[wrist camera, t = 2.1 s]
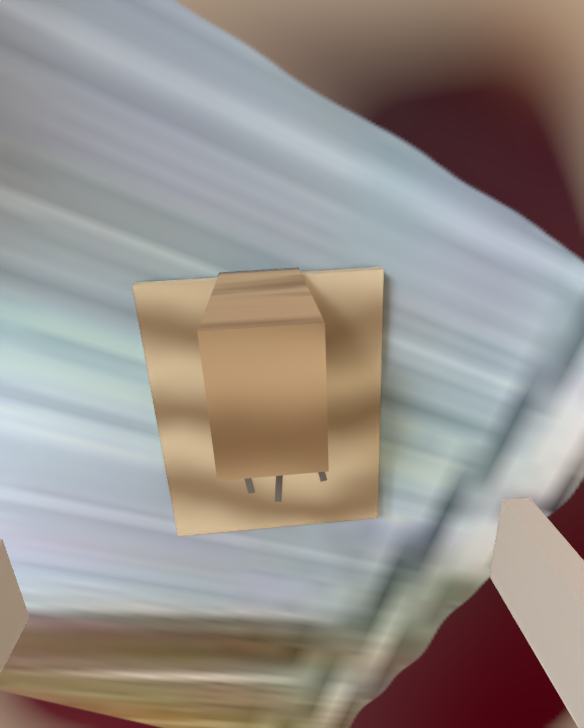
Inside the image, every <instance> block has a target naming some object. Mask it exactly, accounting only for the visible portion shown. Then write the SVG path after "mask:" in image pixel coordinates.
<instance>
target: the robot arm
mask: <svg viewBox="0 0 584 728" xmlns="http://www.w3.org/2000/svg"><path fill="white" fill-rule="evenodd" d="M490 578H491V580H492V581H493V583H494V585H495V587H496V588H497V590H498V591H499V593H500V595H501V597H502V598H503V600H504V602H505V604H506V605H507V607H508V609H509V610H510V612H511V614H512V616H513V617H514V619H515V621H516V622H517V624H518V626H519V627H520V629H521V631H522V632H523V634H524V636H525V638H526V639H527V641H528V643H529V644H530V646H531V648H532V649H533V651H534V653H535V655H536V656H537V658H538V660H539V662H540V663H541V665H542V667H543V668H544V670H545V672H546V674H547V675H548V677H549V679H550V680H551V682H552V684H553V685H554V687H555V689H556V691H557V692H558V694H559V696H560V697H561V699H562V700H563V703H564V704H565V706H566V708H567V709H568V711H569V713H570V715H571V716H572V718H573V720H574V721H575V723H576V725H577V726H578V728H584V560H583V559H582V558H581V557H580V556H579V555H578V554H577V552H576V551H575V550H574V549H573V548H572V546H571V545H570V544H569V543H568V542H567V541H566V539H565V538H564V537H563V536H562V535H561V534H560V533H559V531H558V530H557V529H556V528H555V527H554V525H553V524H552V523H551V522H550V521H549V520H548V518H547V517H546V516H545V515H544V514H543V513H542V511H541V510H540V509H539V508H538V507H537V506H536V504H535V503H534V502H533V501H532V500H531V499H530V497H529V498H517V499H504V500H502V503H501V510H500V516H499V522H498V528H497V534H496V540H495V547H494V553H493V559H492V565H491V571H490ZM28 619H29V614H28V611H27V609H26V606H25V603H24V600H23V597H22V594H21V591H20V589H19V586H18V583H17V580H16V577H15V574H14V571H13V569H12V566H11V563H10V560H9V557H8V554H7V551H6V549H5V546H4V543H3V540H0V673H1V671H2V669H3V667H4V666H5V664H6V662H7V660H8V658H9V656H10V654H11V652H12V650H13V648H14V646H15V644H16V642H17V640H18V638H19V637H20V635H21V633H22V631H23V629H24V627H25V625H26V623H27V621H28Z"/></svg>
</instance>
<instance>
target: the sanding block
mask: <svg viewBox="0 0 584 728" xmlns="http://www.w3.org/2000/svg"><path fill="white" fill-rule="evenodd" d="M197 333H198V341H199V348H200V356H201V363H202V371H203V378H204V385H205V393H206V400H207V408H208V415H209V423H210V430H211V438H212V445H213V452H214V460H215V467H216V475H217V481H224V480H235V479H247V478H258V477H270V476H281V475H293V474H304V473H316V472H327V471H329V465H328V424H327V383H326V342H325V322H324V319H323V317H322V315H321V313H320V311H319V309H318V307H317V305H316V303H315V301H314V299H313V297H312V295H311V293H310V290H309V288H308V286H307V284H306V282H305V280H304V278H303V276H302V274H301V272H300V270H299V268H285V269H269V270H254V271H238V272H223V273H219V275H218V278H217V280H216V283H215V286H214V288H213V291H212V294H211V296H210V299H209V302H208V304H207V307H206V310H205V312H204V315H203V318H202V320H201V323H200V326H199V328H198V331H197Z"/></svg>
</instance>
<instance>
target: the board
mask: <svg viewBox="0 0 584 728" xmlns="http://www.w3.org/2000/svg"><path fill="white" fill-rule="evenodd" d="M301 274H302V276H303V278H304V280H305V282H306V284H307V286H308V288H309V290H310V293H311V295H312V297H313V299H314V301H315V303H316V305H317V307H318V309H319V311H320V313H321V315H322V317H323V319H324V322H325V342H326V383H327V424H328V465H329V471H327V472H316V473H304V474H293V475H281V476H270V477H258V478H247V479H235V480H224V481H217V475H216V467H215V460H214V452H213V445H212V438H211V430H210V423H209V415H208V408H207V400H206V393H205V385H204V378H203V371H202V363H201V356H200V348H199V341H198V333H197V331H198V328H199V326H200V323H201V320H202V318H203V315H204V312H205V310H206V307H207V304H208V302H209V299H210V296H211V294H212V291H213V288H214V286H215V283H216V280H217V278H218V277H211V278H196V279H180V280H165V281H149V282H136V283H135V284H134V285H133V286H132V288H133V294H134V299H135V305H136V310H137V316H138V321H139V327H140V332H141V337H142V343H143V348H144V354H145V359H146V365H147V370H148V376H149V381H150V386H151V392H152V397H153V403H154V408H155V414H156V419H157V425H158V430H159V436H160V441H161V446H162V452H163V457H164V463H165V468H166V474H167V479H168V485H169V490H170V496H171V501H172V506H173V512H174V517H175V523H176V528H177V534H178V536H187V535H197V534H208V533H219V532H230V531H241V530H252V529H262V528H273V527H284V526H295V525H306V524H316V523H327V522H338V521H349V520H360V519H371V518H378V484H379V443H380V403H381V363H382V322H383V282H384V270H383V269H382V268H380V267H365V268H350V269H334V270H319V271H304V272H301Z"/></svg>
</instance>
